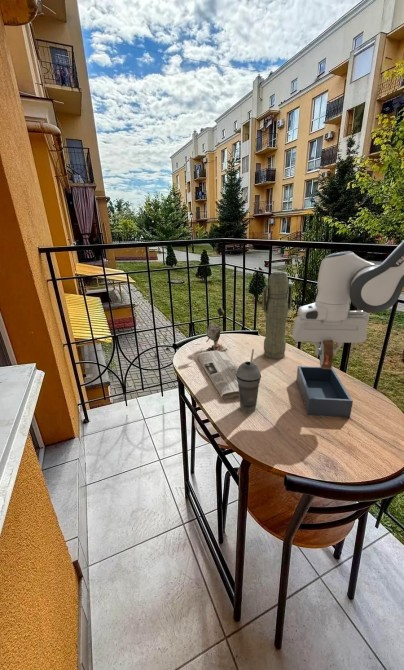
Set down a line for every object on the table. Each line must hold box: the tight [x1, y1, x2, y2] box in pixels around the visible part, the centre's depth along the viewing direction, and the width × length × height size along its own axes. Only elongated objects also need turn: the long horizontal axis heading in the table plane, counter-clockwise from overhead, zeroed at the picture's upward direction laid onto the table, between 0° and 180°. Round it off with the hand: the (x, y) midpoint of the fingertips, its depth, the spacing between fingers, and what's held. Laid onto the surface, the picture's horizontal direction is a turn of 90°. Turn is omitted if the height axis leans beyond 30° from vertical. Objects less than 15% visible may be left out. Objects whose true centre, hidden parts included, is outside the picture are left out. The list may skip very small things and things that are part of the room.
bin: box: [296, 365, 354, 418], centre depth 89 cm, size 12×21×6 cm, turn 171°
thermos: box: [261, 271, 294, 361], centre depth 115 cm, size 9×12×35 cm
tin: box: [318, 340, 335, 370], centre depth 84 cm, size 15×3×8 cm, turn 161°
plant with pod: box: [205, 306, 228, 352], centre depth 126 cm, size 8×11×20 cm
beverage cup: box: [236, 348, 262, 414], centre depth 82 cm, size 7×7×20 cm
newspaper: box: [196, 350, 239, 400], centre depth 106 cm, size 35×12×4 cm, turn 15°
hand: (325, 354), depth 85 cm, fingers closed on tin, 3 cm apart
